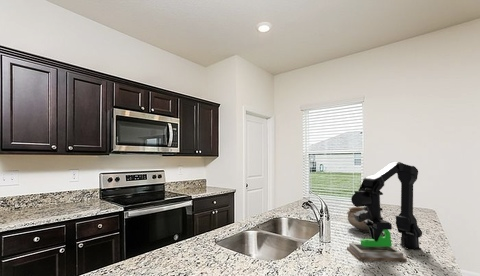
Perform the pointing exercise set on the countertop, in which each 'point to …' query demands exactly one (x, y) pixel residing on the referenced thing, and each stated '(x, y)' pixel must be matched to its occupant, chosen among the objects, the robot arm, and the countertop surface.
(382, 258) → the keyed nest
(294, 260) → the countertop surface
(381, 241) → the mechanical part
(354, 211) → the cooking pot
